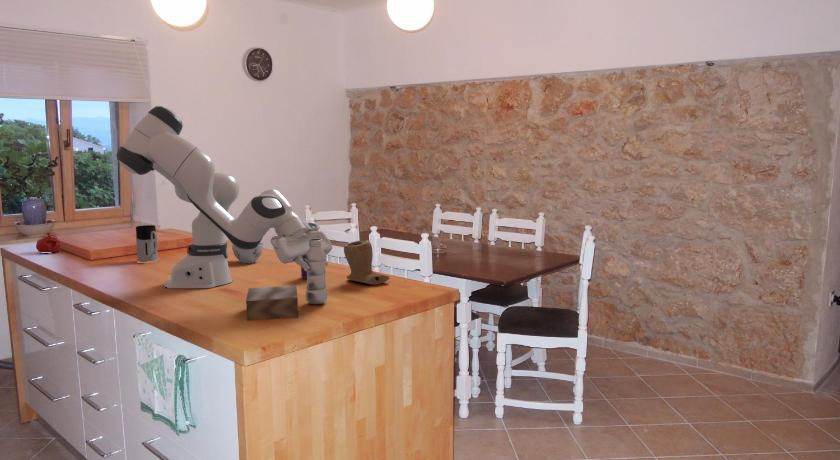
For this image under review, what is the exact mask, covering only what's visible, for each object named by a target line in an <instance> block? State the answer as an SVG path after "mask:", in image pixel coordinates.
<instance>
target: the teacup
mask: <svg viewBox="0 0 840 460" xmlns="http://www.w3.org/2000/svg"><path fill="white" fill-rule="evenodd" d="M231 248H232V251H233V252H232V253H233V254H234V257H235V258H236V259H237V260H238V261H240V263H241V264H244V263H248V264H254V263H256V261H258V260H259V258H260V256H261V254H262V252H263V248H264V243H263V242H260V243H259V245H258V246H257V247H256V248H254V249H249V250H244V249H239V248H237V247H236V246H234V245H233V244H231Z"/></svg>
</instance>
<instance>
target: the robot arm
mask: <svg viewBox="0 0 840 460" xmlns="http://www.w3.org/2000/svg"><path fill="white" fill-rule="evenodd" d="M182 130H183V122H182V120H181V119H180V117H179V116H178V114H177V113H176V112H174V111H173V110H171V108H167V107H164V106H163V105H162V106H161V105H156V106H154V107H153V108H151V109H150V110H149V111H148V112H147V114H146V115H145V116H144V117H143V118H142V119H141V120H140V121H139V122H138V123H137V124H136V125H134V127H133V130H132V131H131V132H130V133H129V135H128V136H127V138H126V139H125V140H124V142H123V144H122V145H121V146H120V147H119V149H117V153H116V155H115V156H116V159H117V160H118V162H119V164H120V165H121V166H122V168H123V169H124V170H125V171H128V172H130V173H131V174H135V175H139V176H142V175H146V174H147V175H148V174H149V173H150V172H151V171H156V172H157V173H159V174H160V175H161V176H163V177H164V178H165V179H166V180H167V181H169V182H170V183H171V184H172V185H173V186H174V192H175V195H176V196H177V198H178V199H180V200H182V201H184V202H187V203H189V204H190V203H191V204H192V205H193V206H194V207H195V208H196V209H197V210H198V211H199V212H198V214H197V216H196V217H195V218H193V220H192V222H191V233H192V235H191V236H192V237H191V238H192V243H188V244H187V245H186V253H187V255H186V256H185V257H183V258H182V259H181V260H180V261H178V262H177V263H176V264H175V265H173V267H172V270H171V274H170V278H169V279H167V280H165V282H164V288H165V287H167V288H166V289H210V288H215V287H217V286H223V285H226V284H227V285H228V284H230V283H232V282H233V278H232V275H231V272H230V268H229V262H228V261H229V260H228V257H229V249H228V248H229V247H228V242H227V240H226V237H227V239H228V240H229V242H231V243H232V244H233V245H234V246H236V247H237V248H239V249H244V250H249V249H254V248H256V247H257V246H258V245H259V243H261V242H262V240H263V239H264V237H265V235H266V234H267V233H268V232H269V230H270V229H273V228H274V232H275V234H276V235H274V236H271V239H270V244H271V245H272V248H273V250H274V252H275V254H276V257H277V258H278V260H279V261H280V262H281V263H282V264H284V265H285V264H289V263H290V264H291V263H295V264H296V265H298V266H299V267H300V268H301V267H303V269H304V270H305V271H309V270H310V269H311V266H310V264H309V263H306V262H305V261H303V260H304V259H305V255H306V253H307V251H308V249H309V248H310V246H309V239H321V244H322V245H321V248H322V249H323V250H324V252H325V253H326V256H327V255H328V254H329V253H331V251H332V250H333V244H332V242H331V241H330V239H329V238H328V237H327V236H326V234H325V233H324V231H322V230H321V229H320V228H321V227H320V226H319V224H318V223H316V222H309V221H306V220H303V219H301V217H300V216H299V215H297V213H296V212H295V208H294V207H293V206H292V204H291V203H290V202H289V200H288V199H287V198H286V197H285V196H284V195H283V194H282V193H281V192H280V191H279V190H277V189H271V188H270V189H266V190H264V191H262V192H261V193H260V194H259V195H258V196H254V197H253V198H252V199H251V200H250V201H249V202H248V203H247V204H246V206H245V207H244V209H243V210H242V211H241V212H240V213H239V215H238V217H237V218H235V217H233V215H231V214H230V213H229V209H230V208H231V206H232V204H233V203H234V202H235V201H236V200H237V198H238V196H239V194H240V193H239V192H240V186H239V183H238V180H237V179H236V178H234V177H233V176H232V175H229V174H224V173H221V172H216V170H215V165H214V162H213V160H212V159H211V157H210V156H209V155H208V154H207V153H206V152H204V151H203V150H202V149H200V148H198V146H195V145H194V144H192V143H191V142H190V141H188V140H186V139H184V138H183V137H182V136H180V134H181V132H182ZM232 244H231V245H232ZM328 265H329V262H328V261H327V259H326V266H325V268H326V267H327V266H328Z"/></svg>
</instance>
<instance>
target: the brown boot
mask: <svg viewBox="0 0 840 460" xmlns="http://www.w3.org/2000/svg"><path fill="white" fill-rule="evenodd" d="M343 254H344V256H345V260H346V261H347V263H348V266H349V268H350V274H348V275H347V276H346V279H347V280H349V281H352V282H356V283H361V284H362V283H363V284H368V285H374V286H375V285H376V286H377V285H380V284H381V285H382V284H383V283H386V282H388V281H389V280H390V276H388V275H385V274H381V273H377V272H374V271H373V266H372V265H373V264H372V263H373V257H374V256H373V254H374V253H373V247H372V243H371V242H370V240H368V239H366V240H364V241H363V240H355V241H351V242H348V243H346V244H344V246H343Z"/></svg>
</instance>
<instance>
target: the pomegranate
mask: <svg viewBox="0 0 840 460" xmlns="http://www.w3.org/2000/svg"><path fill="white" fill-rule="evenodd" d="M46 234H47V236H46V235H43V236H42V235H41V236H40V237H38V240H37V242H36V245H35V247H36V250H37V251H38V253H40V252H56V251H59V250H60V251H61V249H60V243H61V241H60V240H59V238H58V237H57V236H55V235H53V234H52V235H51V232H47V233H46ZM40 238H41V239H40ZM57 239H58V240H59V241H60V242H59V241H58V240H57ZM60 251H59V252H60ZM56 253H57V252H56Z"/></svg>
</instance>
